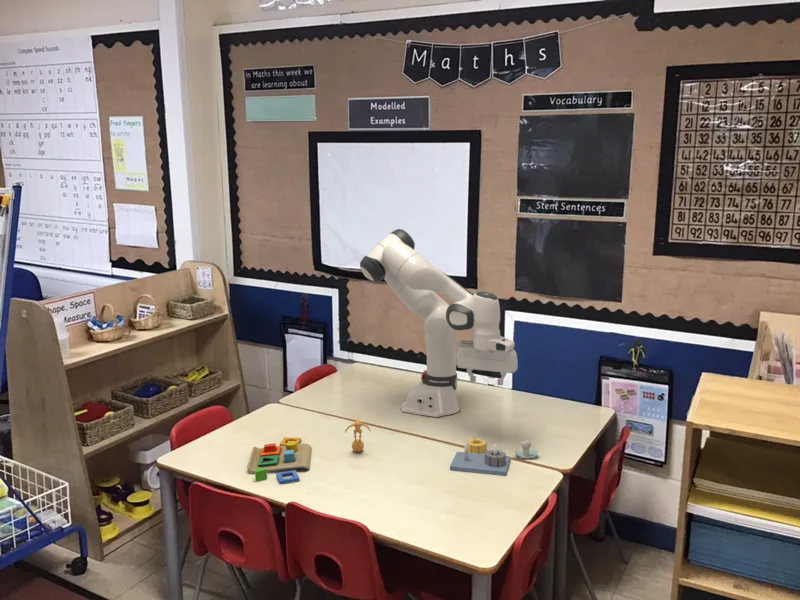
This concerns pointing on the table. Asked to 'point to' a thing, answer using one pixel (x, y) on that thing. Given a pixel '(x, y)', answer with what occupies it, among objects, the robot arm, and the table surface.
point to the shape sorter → (280, 459)
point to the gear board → (481, 461)
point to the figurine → (358, 444)
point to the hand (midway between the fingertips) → (486, 383)
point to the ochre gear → (476, 446)
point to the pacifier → (526, 451)
